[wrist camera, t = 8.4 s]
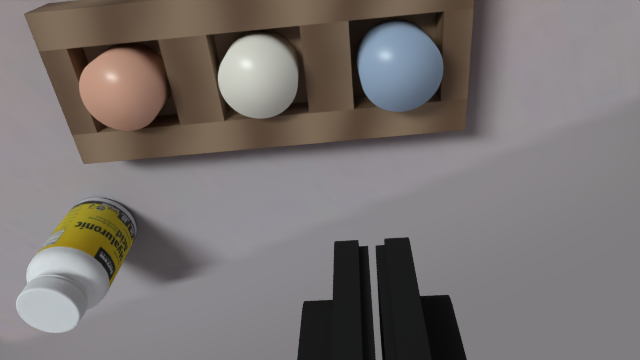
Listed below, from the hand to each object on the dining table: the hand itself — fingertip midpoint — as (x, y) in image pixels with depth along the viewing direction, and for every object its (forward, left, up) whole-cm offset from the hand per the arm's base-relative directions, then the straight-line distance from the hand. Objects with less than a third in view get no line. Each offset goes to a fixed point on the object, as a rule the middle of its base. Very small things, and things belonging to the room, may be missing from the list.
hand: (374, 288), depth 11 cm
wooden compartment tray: (+5, +1, -24) cm, 24 cm away
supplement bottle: (+20, +13, -24) cm, 34 cm away
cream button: (+5, +1, -23) cm, 23 cm away
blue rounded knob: (-4, +1, -22) cm, 22 cm away
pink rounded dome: (+13, +1, -23) cm, 26 cm away
